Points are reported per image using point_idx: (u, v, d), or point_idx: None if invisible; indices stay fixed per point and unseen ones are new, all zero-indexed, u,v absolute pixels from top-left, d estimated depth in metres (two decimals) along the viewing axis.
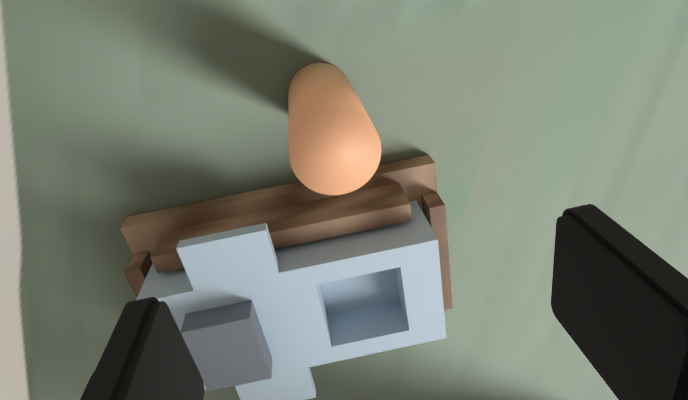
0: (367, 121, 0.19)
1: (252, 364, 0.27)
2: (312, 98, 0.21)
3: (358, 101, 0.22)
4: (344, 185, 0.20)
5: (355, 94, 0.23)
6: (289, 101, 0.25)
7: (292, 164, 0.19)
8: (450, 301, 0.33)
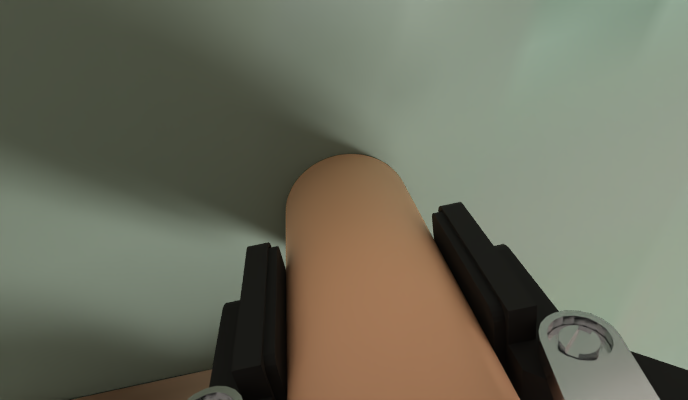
0: None
1: None
2: (357, 355, 0.07)
3: (475, 326, 0.08)
4: None
5: (449, 273, 0.10)
6: (288, 262, 0.11)
7: None
8: None
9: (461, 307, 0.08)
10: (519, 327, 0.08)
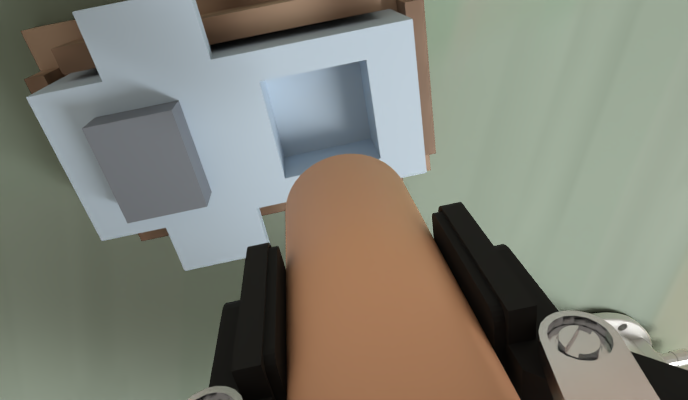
0: None
1: (180, 184, 0.22)
2: (357, 355, 0.07)
3: (475, 326, 0.08)
4: None
5: (449, 273, 0.09)
6: (288, 262, 0.11)
7: None
8: (432, 143, 0.27)
9: (461, 307, 0.08)
10: (519, 327, 0.08)
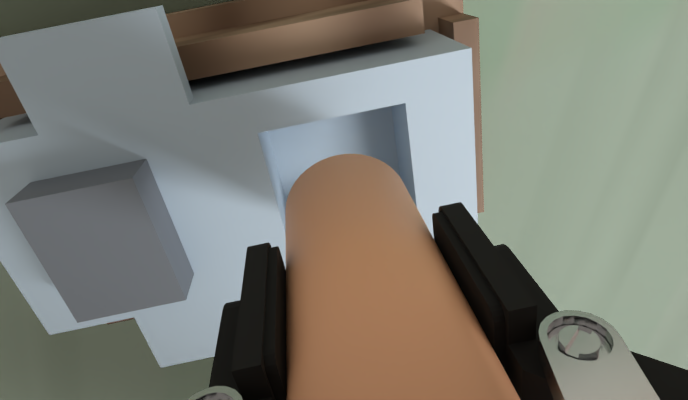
0: None
1: (148, 273, 0.16)
2: (357, 355, 0.07)
3: (475, 326, 0.08)
4: None
5: (449, 273, 0.09)
6: (287, 263, 0.11)
7: None
8: (480, 200, 0.21)
9: (461, 307, 0.08)
10: (519, 327, 0.08)
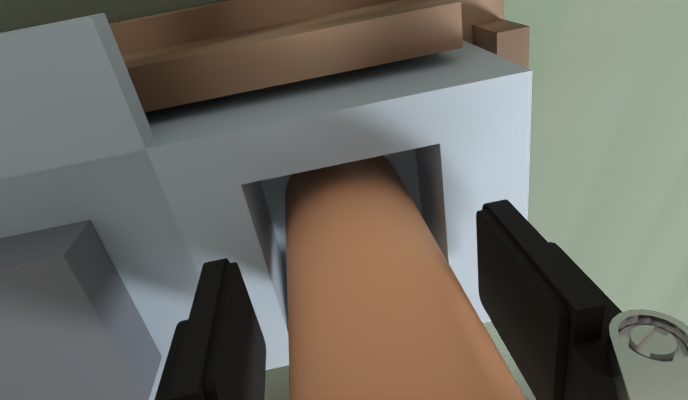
0: None
1: (95, 371, 0.12)
2: (353, 311, 0.08)
3: (459, 290, 0.09)
4: None
5: (437, 247, 0.10)
6: (288, 242, 0.12)
7: None
8: None
9: (447, 274, 0.09)
10: (585, 327, 0.08)
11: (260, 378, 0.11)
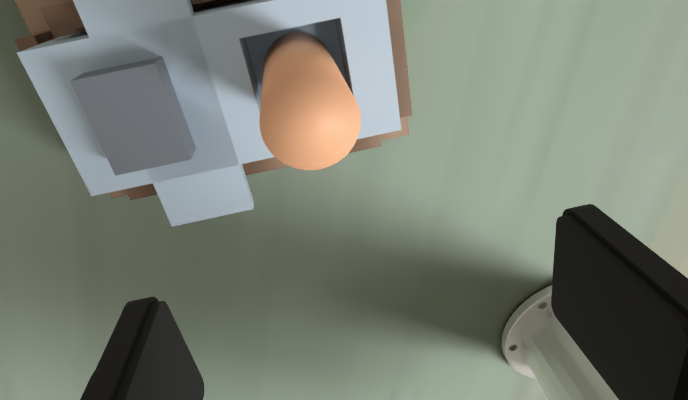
0: (344, 87, 0.17)
1: (165, 137, 0.23)
2: (285, 64, 0.19)
3: (336, 68, 0.20)
4: (320, 158, 0.19)
5: (334, 62, 0.21)
6: (263, 72, 0.23)
7: (263, 136, 0.18)
8: (409, 105, 0.28)
9: (332, 63, 0.20)
10: None
11: None
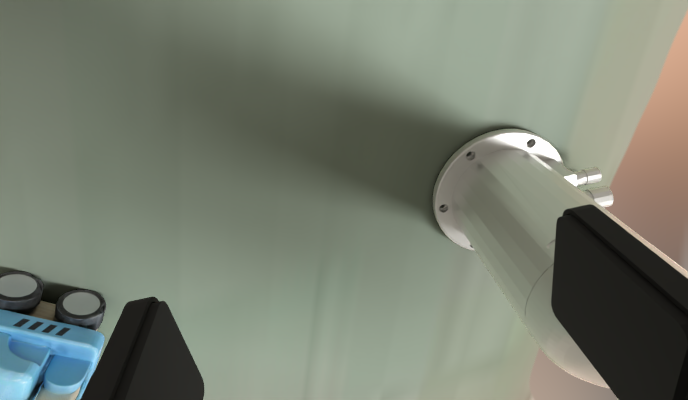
0: None
1: None
2: None
3: None
4: None
5: None
6: None
7: None
8: None
9: None
10: None
11: None
